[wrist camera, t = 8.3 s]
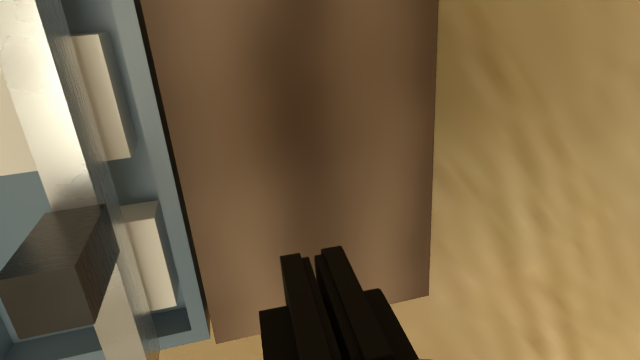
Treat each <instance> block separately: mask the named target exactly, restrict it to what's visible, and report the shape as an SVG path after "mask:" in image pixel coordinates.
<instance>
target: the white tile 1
mask: <svg viewBox="0 0 640 360" xmlns="http://www.w3.org/2000/svg"><path fill="white" fill-rule="evenodd" d="M70 35H71V39H72V42H73V46H74V49H75V53H76V56H77V59H78V63H79V66H80V70H81V73H82V77H83V80H84V84H85V87H86V91H87V94H88V97H89V101H90V104H91V108H92V111H93V115H94V118H95V122H96V125H97V129H98V132H99V136H100V139H101V142H102V146H103V149H104V153H105V156H106V160H107V161H109V160H116V159H123V158H130V157H131V156H132V154H133V152H134V150H135V147H136V145H137V140H136V136H135V132H134V128H133V124H132V120H131V116H130V112H129V108H128V105H127V101H126V97H125V93H124V89H123V85H122V81H121V77H120V73H119V69H118V65H117V61H116V57H115V53H114V50H113V46H112V42H111V38H110V34H109V31H103V32H92V33H81V34H70ZM32 171H38V170H37V167H36V165H35V162H34V159H33V156H32V153H31V151H30V148H29V145H28V142H27V140H26V137H25V134H24V131H23V129H22V126H21V123H20V120H19V117H18V115H17V112H16V109H15V106H14V104H13V101H12V98H11V95H10V93H9V90H8V87H7V84H6V81H5V79H4V76H3V73H2V70H1V68H0V176H4V175H11V174H18V173H25V172H32Z"/></svg>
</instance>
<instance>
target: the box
mask: <svg viewBox="0 0 640 360" xmlns="http://www.w3.org/2000/svg"><path fill="white" fill-rule="evenodd" d="M60 1H61V4H62V8H63V11H64V15H65V18H66V21H67V25H68V28H69V32H70V34H81V33H92V32H103V31H109V34H110V38H111V42H112V46H113V50H114V53H115V57H116V61H117V65H118V69H119V73H120V77H121V81H122V85H123V89H124V93H125V97H126V101H127V105H128V108H129V112H130V116H131V120H132V124H133V128H134V132H135V136H136V140H137V145H136V147H135V150H134V152H133V154H132V156H131V157H130V158H123V159H116V160H109V161H107V163H108V167H109V170H110V174H111V177H112V180H113V184H114V187H115V191H116V194H117V198H118V201H119V205H120V206H124V205H130V204H136V203H143V202H149V201H155V200H159V204H160V208H161V212H162V216H163V220H164V224H165V228H166V232H167V236H168V240H169V244H170V248H171V252H172V256H173V260H174V264H175V268H176V272H177V276H178V280H179V288H178V298H177V306H174V307H169V308H164V309H159V310H154V311H150V312H151V315H152V319H153V322H154V326H155V329H156V333H157V336H158V340H159V343H160V350H162V349H166V348H171V347H175V346H180V345H184V344H188V343H193V342H197V341H202V340H206V339H210V314H209V309H208V305H207V300H206V296H205V291H204V287H203V282H202V278H201V273H200V269H199V264H198V260H197V255H196V251H195V246H194V242H193V237H192V233H191V228H190V224H189V219H188V214H187V210H186V205H185V201H184V196H183V192H182V187H181V183H180V178H179V174H178V169H177V165H176V160H175V156H174V151H173V147H172V142H171V138H170V133H169V129H168V124H167V120H166V115H165V110H164V106H163V101H162V97H161V92H160V88H159V83H158V79H157V74H156V70H155V65H154V61H153V56H152V52H151V47H150V43H149V38H148V34H147V29H146V25H145V20H144V15H143V11H142V6H141V2H140V0H60ZM48 212H52V209H51V206H50V203H49V201H48V198H47V195H46V192H45V189H44V187H43V184H42V181H41V178H40V176H39V173H38V171H32V172H25V173H18V174H11V175H4V176H0V271H1V270H2V269H3V267H4V266H5V265H6V264H7V262H8V261H9V260H10V258H11V257H12V256H13V254H14V253H15V252H16V250H17V249H18V248H19V246H20V245H21V244H22V242H23V241H24V240H25V239H26V237H27V236H28V235H29V233H30V232H31V231H32V229H33V228H34V227H35V225H36V224H37V223H38V221H39V220H40V219H41V217H42V216H43V215H44V213H48ZM0 360H106V358H105V356H104V353H103V350H102V347H101V345H100V342H99V339H98V336H97V333H96V331H95V328H94V325H93V324H92V325H88V326H83V327H78V328H73V329H68V330H64V331H59V332H54V333H49V334H45V335H40V336H35V337H30V338H25V339H21V340H19V338H18V336H17V334H16V331H15V329H14V327H13V325H12V323H11V321H10V318H9V316H8V314H7V312H6V310H5V307H4V305H3V303H2V301H1V299H0Z"/></svg>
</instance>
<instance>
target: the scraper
mask: <svg viewBox="0 0 640 360" xmlns="http://www.w3.org/2000/svg"><path fill="white" fill-rule="evenodd" d="M0 68H1V70H2V73H3V76H4V79H5V81H6V84H7V87H8V90H9V93H10V95H11V98H12V101H13V104H14V106H15V109H16V112H17V115H18V117H19V120H20V123H21V126H22V129H23V131H24V134H25V137H26V140H27V142H28V145H29V148H30V151H31V153H32V156H33V159H34V162H35V165H36V167H37V170H38V173H39V176H40V178H41V181H42V184H43V187H44V189H45V192H46V195H47V198H48V201H49V203H50V206H51V209H52V212H48V213H44V215H43V216H42V217H41V219H40V220H39V221H38V223H37V224H36V225H35V227H34V228H33V229H32V231H31V232H30V233H29V235H28V236H27V237H26V239H25V240H24V241H23V242H22V244H21V245H20V246H19V248H18V249H17V250H16V252H15V253H14V254H13V256H12V257H11V258H10V260H9V261H8V262H7V264H6V265H5V266H4V267H3V269H2V270H1V271H0V299H1V301H2V303H3V305H4V307H5V310H6V312H7V314H8V316H9V318H10V321H11V323H12V325H13V327H14V329H15V331H16V334H17V336H18V338H19V340H21V339H25V338H30V337H35V336H40V335H45V334H49V333H54V332H59V331H64V330H68V329H73V328H78V327H83V326H88V325H92V324H93V325H94V328H95V331H96V333H97V336H98V339H99V342H100V345H101V347H102V350H103V353H104V356H105V358H106V360H159V353H160V343H159V340H158V336H157V333H156V329H155V326H154V322H153V319H152V315H151V312H150V308H149V305H148V301H147V298H146V295H145V291H144V288H143V284H142V281H141V277H140V274H139V270H138V267H137V263H136V260H135V257H134V253H133V250H132V246H131V243H130V239H129V236H128V232H127V229H126V225H125V222H124V219H123V215H122V212H121V208H120V205H119V201H118V198H117V194H116V191H115V187H114V184H113V180H112V177H111V174H110V170H109V167H108V163H107V160H106V156H105V153H104V149H103V146H102V142H101V139H100V136H99V132H98V129H97V125H96V122H95V118H94V115H93V111H92V108H91V104H90V101H89V97H88V94H87V91H86V87H85V84H84V80H83V77H82V73H81V70H80V66H79V63H78V59H77V56H76V53H75V49H74V46H73V42H72V39H71V35H70V32H69V28H68V25H67V21H66V18H65V15H64V11H63V8H62V4H61V1H60V0H0Z"/></svg>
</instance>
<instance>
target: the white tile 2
mask: <svg viewBox="0 0 640 360" xmlns="http://www.w3.org/2000/svg"><path fill="white" fill-rule="evenodd" d="M120 208H121V212H122V215H123V219H124V222H125V225H126V229H127V232H128V236H129V239H130V243H131V246H132V250H133V253H134V257H135V260H136V263H137V267H138V270H139V274H140V277H141V281H142V284H143V288H144V291H145V295H146V298H147V301H148V305H149V308H150V311H154V310H159V309H164V308H169V307H174V306H177V298H178V288H179V280H178V276H177V272H176V268H175V264H174V260H173V256H172V252H171V248H170V244H169V240H168V236H167V232H166V228H165V224H164V220H163V216H162V212H161V208H160V204H159V200H155V201H149V202H143V203H136V204H130V205H124V206H120Z"/></svg>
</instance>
